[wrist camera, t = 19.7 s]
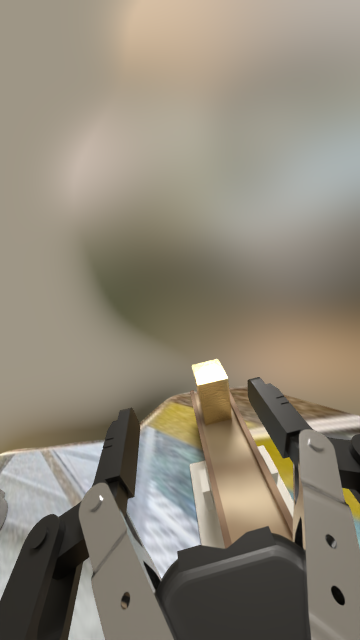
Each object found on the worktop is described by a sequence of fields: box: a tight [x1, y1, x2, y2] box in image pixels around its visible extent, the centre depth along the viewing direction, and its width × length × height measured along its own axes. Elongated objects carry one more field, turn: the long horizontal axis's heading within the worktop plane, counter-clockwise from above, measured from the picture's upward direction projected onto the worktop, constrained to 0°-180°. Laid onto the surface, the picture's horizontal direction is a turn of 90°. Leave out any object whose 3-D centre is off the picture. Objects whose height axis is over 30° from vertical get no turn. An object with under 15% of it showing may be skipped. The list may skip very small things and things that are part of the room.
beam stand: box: [190, 445, 294, 549], centre depth 25 cm, size 10×14×7 cm
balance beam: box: [190, 390, 293, 548], centre depth 24 cm, size 30×8×3 cm, turn 7°
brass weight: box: [192, 359, 232, 425], centre depth 31 cm, size 5×5×10 cm
